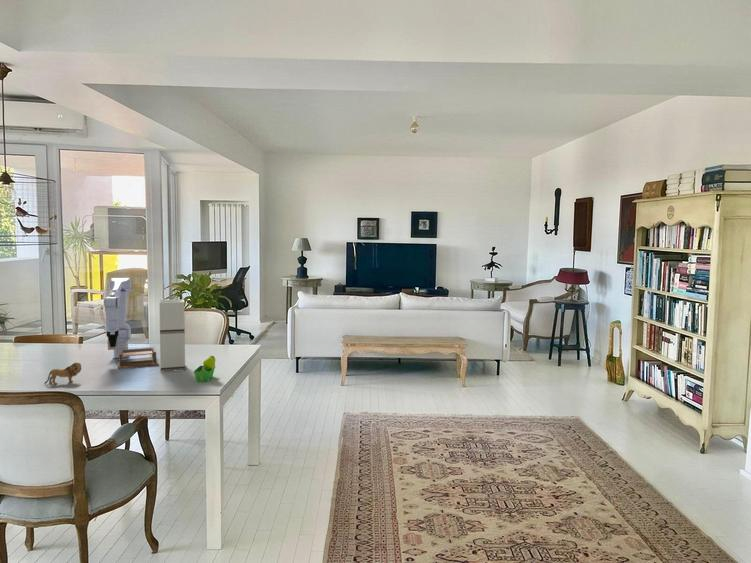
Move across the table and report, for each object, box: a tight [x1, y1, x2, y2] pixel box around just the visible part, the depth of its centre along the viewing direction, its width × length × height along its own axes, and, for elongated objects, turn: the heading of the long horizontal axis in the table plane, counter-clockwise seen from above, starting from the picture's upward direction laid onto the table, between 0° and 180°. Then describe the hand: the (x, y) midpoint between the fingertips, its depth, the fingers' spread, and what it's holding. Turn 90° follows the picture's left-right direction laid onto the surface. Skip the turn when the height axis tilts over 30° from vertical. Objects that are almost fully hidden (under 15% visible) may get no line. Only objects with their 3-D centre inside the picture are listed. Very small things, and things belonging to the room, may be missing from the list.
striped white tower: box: [159, 299, 186, 372], centre depth 253 cm, size 11×11×35 cm
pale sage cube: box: [107, 338, 118, 351], centre depth 257 cm, size 4×4×5 cm
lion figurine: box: [43, 362, 82, 385], centre depth 226 cm, size 15×5×9 cm, turn 117°
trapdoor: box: [123, 346, 153, 358], centre depth 263 cm, size 10×14×3 cm
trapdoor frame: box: [116, 346, 160, 370], centre depth 263 cm, size 18×19×6 cm
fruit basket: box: [193, 355, 216, 382], centre depth 237 cm, size 11×9×11 cm
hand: (112, 345), depth 257 cm, fingers closed on pale sage cube, 4 cm apart
